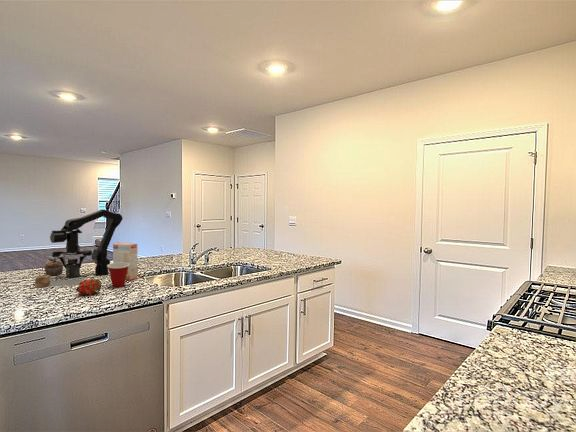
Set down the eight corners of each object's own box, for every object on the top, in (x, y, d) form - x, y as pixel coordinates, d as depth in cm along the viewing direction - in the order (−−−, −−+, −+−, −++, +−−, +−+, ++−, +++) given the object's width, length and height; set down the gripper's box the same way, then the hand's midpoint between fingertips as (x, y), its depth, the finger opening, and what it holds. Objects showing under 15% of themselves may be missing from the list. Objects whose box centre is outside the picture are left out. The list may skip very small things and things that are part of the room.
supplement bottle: (63, 279, 193) (62, 259, 193) (74, 277, 200) (74, 257, 199) (71, 281, 191) (71, 260, 190) (82, 278, 197) (82, 258, 197)
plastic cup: (107, 289, 174) (106, 266, 174) (107, 284, 184) (107, 263, 183) (130, 287, 179) (129, 265, 179) (129, 282, 189) (129, 261, 188)
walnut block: (49, 284, 178) (49, 275, 178) (47, 286, 173) (46, 277, 173) (38, 285, 176) (38, 275, 176) (35, 287, 172) (35, 277, 171)
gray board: (84, 281, 191) (84, 278, 191) (79, 287, 178) (79, 284, 178) (42, 283, 184) (42, 281, 184) (34, 290, 171) (33, 287, 171)
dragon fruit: (104, 295, 170) (78, 303, 161) (97, 283, 174) (71, 291, 165) (106, 284, 166) (79, 292, 157) (98, 272, 169) (72, 279, 160)
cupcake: (66, 274, 207) (66, 258, 206) (48, 277, 199) (48, 260, 198) (59, 272, 212) (59, 256, 211) (41, 275, 204) (41, 258, 203)
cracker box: (138, 278, 199) (137, 243, 198) (129, 280, 194) (129, 244, 193) (121, 276, 205) (121, 242, 204) (112, 278, 200) (112, 243, 198)
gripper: (93, 239, 205) (93, 264, 206) (57, 240, 198) (57, 266, 199) (89, 241, 195) (90, 268, 195) (51, 242, 188) (52, 270, 189)
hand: (72, 268), depth 195 cm, fingers closed on supplement bottle, 7 cm apart
